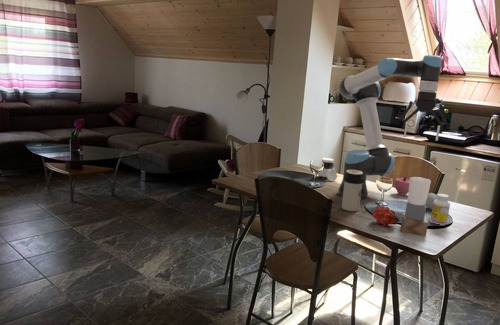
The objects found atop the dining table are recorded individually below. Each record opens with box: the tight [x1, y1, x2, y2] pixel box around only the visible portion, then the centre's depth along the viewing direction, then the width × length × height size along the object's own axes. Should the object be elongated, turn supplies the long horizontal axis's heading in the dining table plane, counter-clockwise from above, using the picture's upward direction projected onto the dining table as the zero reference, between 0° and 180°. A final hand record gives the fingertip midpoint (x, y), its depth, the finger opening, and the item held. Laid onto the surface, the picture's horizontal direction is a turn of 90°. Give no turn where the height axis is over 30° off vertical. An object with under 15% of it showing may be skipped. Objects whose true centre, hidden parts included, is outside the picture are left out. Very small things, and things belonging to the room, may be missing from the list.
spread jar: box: [317, 157, 338, 182], centre depth 247 cm, size 12×11×12 cm
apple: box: [393, 177, 410, 196], centre depth 224 cm, size 10×9×10 cm
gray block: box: [405, 199, 427, 221], centre depth 170 cm, size 7×7×6 cm
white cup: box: [407, 176, 432, 206], centre depth 169 cm, size 8×8×10 cm
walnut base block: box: [400, 211, 429, 237], centre depth 171 cm, size 9×9×6 cm
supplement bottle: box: [429, 193, 451, 226], centre depth 182 cm, size 7×7×13 cm
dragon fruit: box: [371, 205, 400, 228], centre depth 176 cm, size 8×8×12 cm
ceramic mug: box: [426, 192, 437, 211], centre depth 201 cm, size 11×8×8 cm
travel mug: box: [341, 170, 363, 212], centre depth 193 cm, size 8×8×18 cm
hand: (420, 138), depth 190 cm, fingers open, 13 cm apart
